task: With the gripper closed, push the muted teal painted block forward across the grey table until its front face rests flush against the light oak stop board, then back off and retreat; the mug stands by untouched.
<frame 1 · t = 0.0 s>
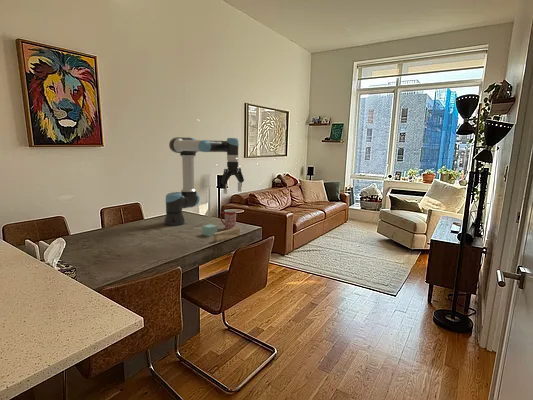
hand: (232, 192, 217), 28 cm above the table, fingers open, 13 cm apart
stop board: (226, 238, 206), on the table
block: (209, 234, 215), on the table
mug: (228, 228, 231), on the table
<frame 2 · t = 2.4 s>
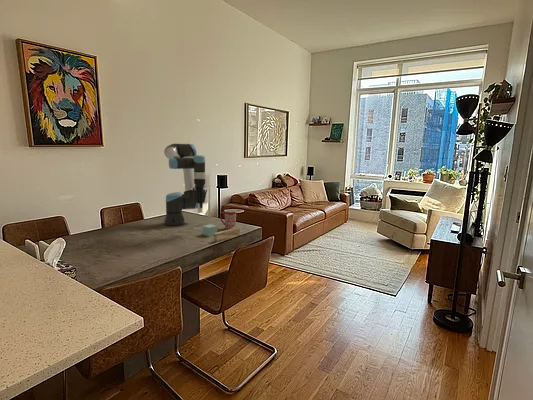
hand: (200, 212, 219), 14 cm above the table, fingers closed
nothing on the table moved.
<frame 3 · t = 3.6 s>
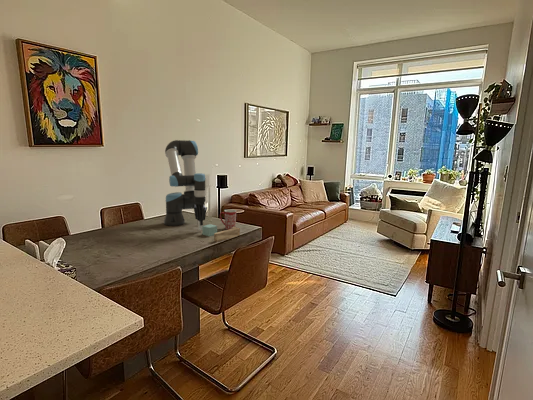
hand: (200, 229, 221), 1 cm above the table, fingers closed
nothing on the table moved.
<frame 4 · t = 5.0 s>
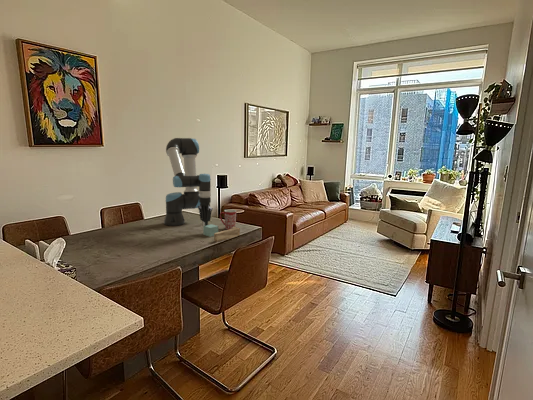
hand: (205, 230, 217), 2 cm above the table, fingers closed
block: (210, 234, 214), on the table, touching gripper
everything else where it was.
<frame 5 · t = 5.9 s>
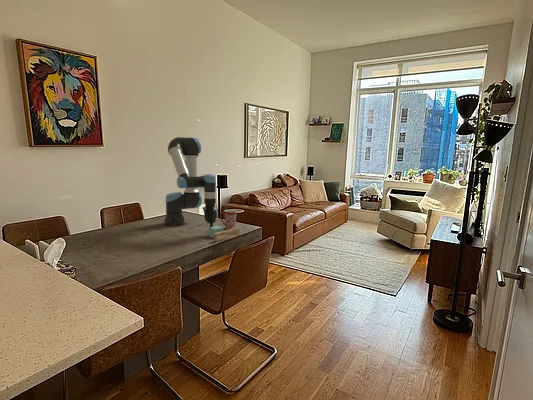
hand: (210, 232, 214), 2 cm above the table, fingers closed
block: (216, 236, 211), on the table, touching gripper
everything else where it was.
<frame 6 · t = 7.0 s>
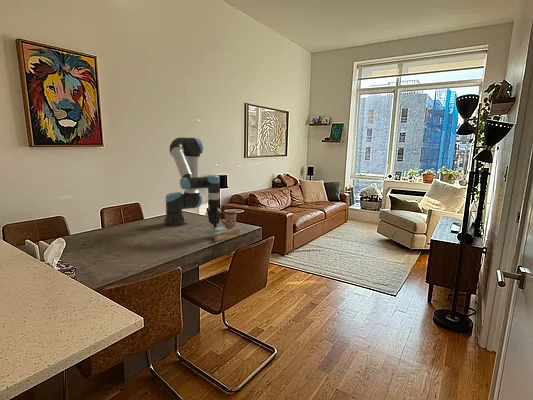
hand: (214, 233, 212), 1 cm above the table, fingers closed
block: (219, 237, 209), on the table, touching gripper, stop board
everything else where it was.
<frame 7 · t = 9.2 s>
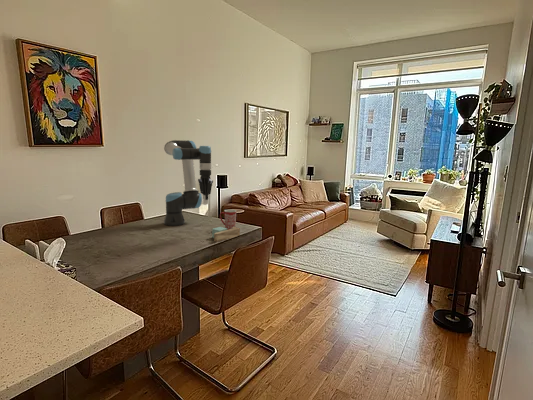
hand: (205, 204, 214), 20 cm above the table, fingers closed
block: (219, 237, 209), on the table
everything else where it was.
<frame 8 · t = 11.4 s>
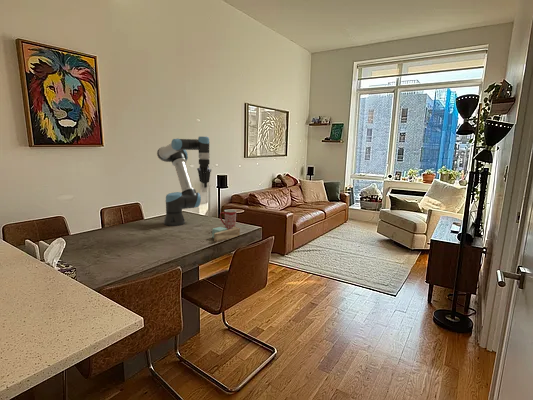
hand: (204, 191, 227), 26 cm above the table, fingers closed
nothing on the table moved.
at the end: block inside the target area on the table beside the stop board (0.9 cm from its centre), on the table; block tilted 0°; block moved 10.0 cm from its start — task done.
